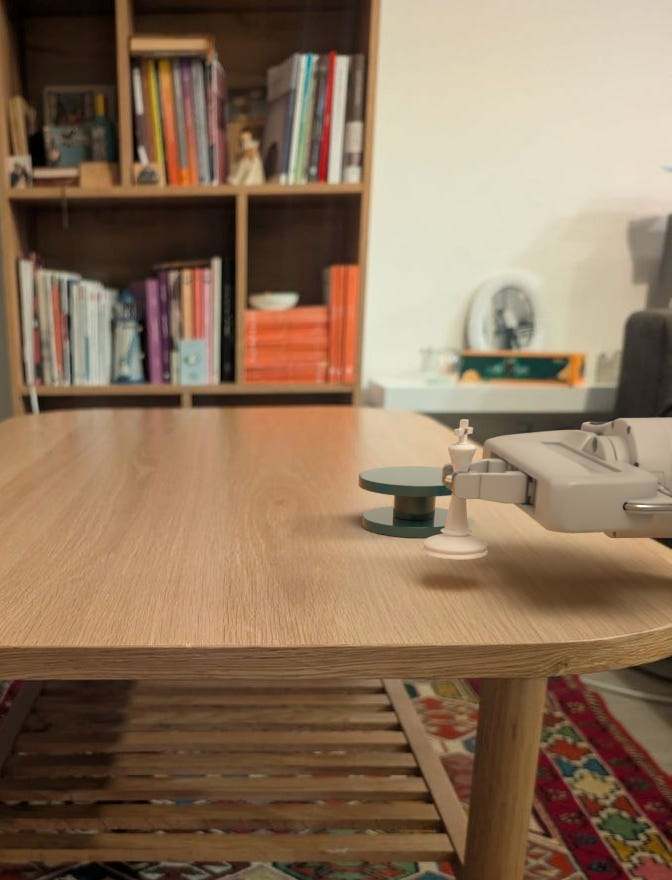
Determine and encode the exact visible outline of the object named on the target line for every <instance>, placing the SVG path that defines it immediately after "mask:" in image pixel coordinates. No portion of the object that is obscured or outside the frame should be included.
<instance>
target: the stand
mask: <svg viewBox="0 0 672 880" xmlns="http://www.w3.org/2000/svg"><path fill="white" fill-rule="evenodd" d="M442 468H443V467H437V466H416V465H409V466H408V465H403V466H402V465H399V466H398V465H397V466H385V467H377V468H376V467H375V468H371V469H366V470H364V471H362V472H360V473H359V474H358V484H357V485H358V487H359V488H360V489H362V490H364V491H366V492H371V493H375V494H381V495H387V496H393V505H391V506H383V507H382V506H381V507H377V508H372V509H369V510H366V511H365V512H363V513H362V516H361V526H362V528H363V529H365V530H367V531H369V532H372V533H374V534H379V535H383V536H388V537H398V538H411V539H412V538H414V539H417V538H418V539H427V538H428V537H431V536H434V535H438V534H442V532H441V529H443V528H445V524H446V520H447V516H448V511H449V508H448V509H447V508H442V507H436V503H437V502H436V501H437V497H450V496H451V495H452V492H451V490H450V489H447V488H446V487H445V486H444V485H443V484H442Z"/></svg>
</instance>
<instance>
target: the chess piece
mask: <svg viewBox="0 0 672 880" xmlns="http://www.w3.org/2000/svg"><path fill="white" fill-rule="evenodd" d="M469 421H470V420H469V419H465V418H463V419H459V428H454V431H453V436H455V437H457V436H458V441H457V442H456V443H452V444H450V445H448V447H447V450H448V454H449V457H450V463H452V467H453V470H454V472H453V474H454V473H455V472H457V471H463V472H466V471H468V469H469V466H470V464H471V462H472V461H473V458H474V456H475V454H476V451H477V447H476V445H475V444H472V443H470V442H468V435H471V434H474V433H473V432H474V427H473V426H469ZM453 474H452V475H453ZM452 475H448V476H446V479H445V481H447V482H450V483H451V479H452ZM467 508H468V507H467V499H458V498H456V497H455V495H453V493H452V495H450V501H449V505H448V510H449V511H448V516H447V520H446V524H445V528H443V529H441V532H442V534H438V535H434V536H431V537H428V538H424V540H423V542H422V544H423V546H422V548H421V552H422V553H423V554H425V555H427V556H430V557H433V558H437V559H444V560H453V561H463V560H464V561H467V560H476V559H480V558H484V557H486V556H487V555H489V551H488V547H489V546H488V543H487V542H486V541H485V540H484V539H482V538H480V537H478V536H476V535H472V534H471V533H472V532H473V530H471V529H470V528H469V525H468V524H469V523H468V510H467Z"/></svg>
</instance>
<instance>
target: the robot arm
mask: <svg viewBox="0 0 672 880" xmlns="http://www.w3.org/2000/svg"><path fill="white" fill-rule="evenodd" d="M441 468H442V484H443V485H444V486H445V487H446V488H447V489H450V490H451V492H452V493H453V495H455V497H456V498H458V499H466V500H482V501H488V502H494V503H499V504H504V505H506V504H507V505H508V504H509V505H511V504H513V505H514V506H515V507H517V508H518V509H519V510H520V511H522V512H523V513H525V514H526V515H527V516H529V517H530V518H531V519H532V520H534V521H535V522H536V523H537V524H538V525H540V526H541V527H542V528H544V529H545V530H547V531H550V532H553V533H554V532H555V533H560V534H591V533H593V534H594V533H603V534H604V535H605V536H606V537H608V538H610V539H672V417H619V418H616V419H614V420H612V421H586V422H582V424H581V427H580V429H559V430H547V431H545V430H544V431H535V432H523V433H514V434H505V435H500V436H496V437H492V438H488V439H486V440H485V441H484V442H483V446H482V457H481V459H477V460H472V461H471V464H470V466H469V469H468V471H466V472H463V471H457V472H455V473H454V474H453V472H454V470H453V467H452V462H450V463H449V462H448V463H445V464H444V465H443V466H442V467H441ZM452 474H453V475H452ZM448 475H452V479H451V483H450V482H447V481H445V479H446V476H448Z"/></svg>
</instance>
